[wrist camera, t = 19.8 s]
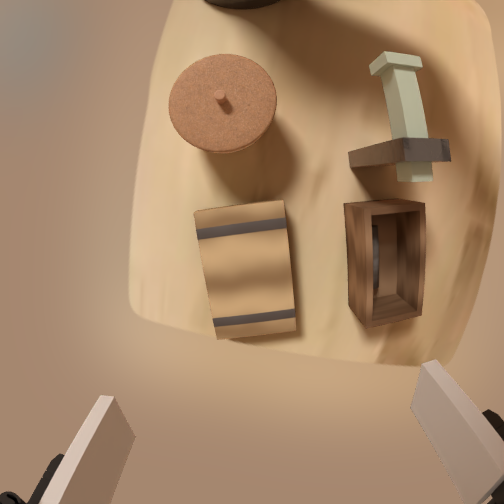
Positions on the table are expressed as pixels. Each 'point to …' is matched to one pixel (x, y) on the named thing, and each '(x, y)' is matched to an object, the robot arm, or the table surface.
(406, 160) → the keeper
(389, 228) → the open wooden box
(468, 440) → the robot arm
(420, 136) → the bolt
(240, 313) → the lid
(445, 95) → the table surface
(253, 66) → the lidded jar
